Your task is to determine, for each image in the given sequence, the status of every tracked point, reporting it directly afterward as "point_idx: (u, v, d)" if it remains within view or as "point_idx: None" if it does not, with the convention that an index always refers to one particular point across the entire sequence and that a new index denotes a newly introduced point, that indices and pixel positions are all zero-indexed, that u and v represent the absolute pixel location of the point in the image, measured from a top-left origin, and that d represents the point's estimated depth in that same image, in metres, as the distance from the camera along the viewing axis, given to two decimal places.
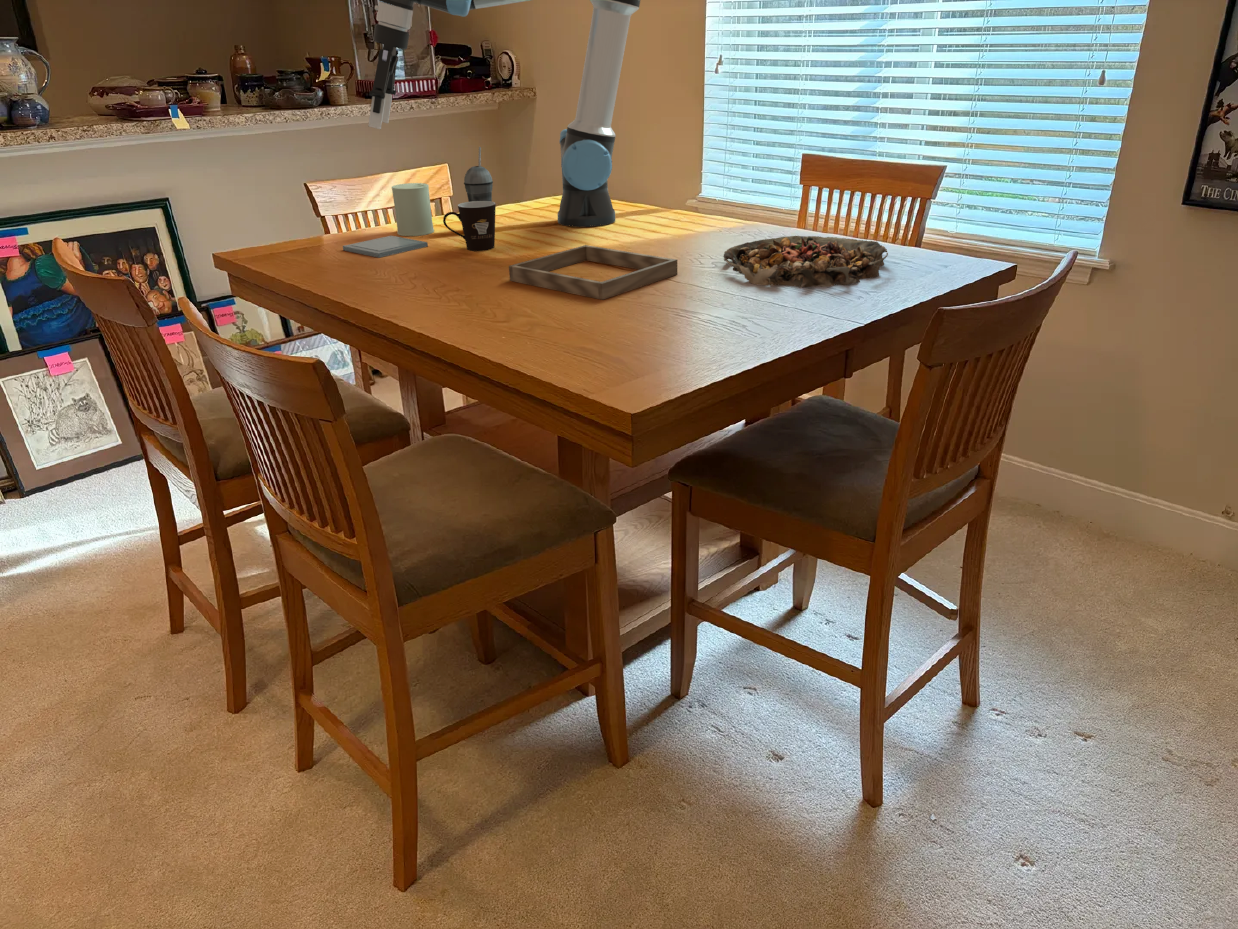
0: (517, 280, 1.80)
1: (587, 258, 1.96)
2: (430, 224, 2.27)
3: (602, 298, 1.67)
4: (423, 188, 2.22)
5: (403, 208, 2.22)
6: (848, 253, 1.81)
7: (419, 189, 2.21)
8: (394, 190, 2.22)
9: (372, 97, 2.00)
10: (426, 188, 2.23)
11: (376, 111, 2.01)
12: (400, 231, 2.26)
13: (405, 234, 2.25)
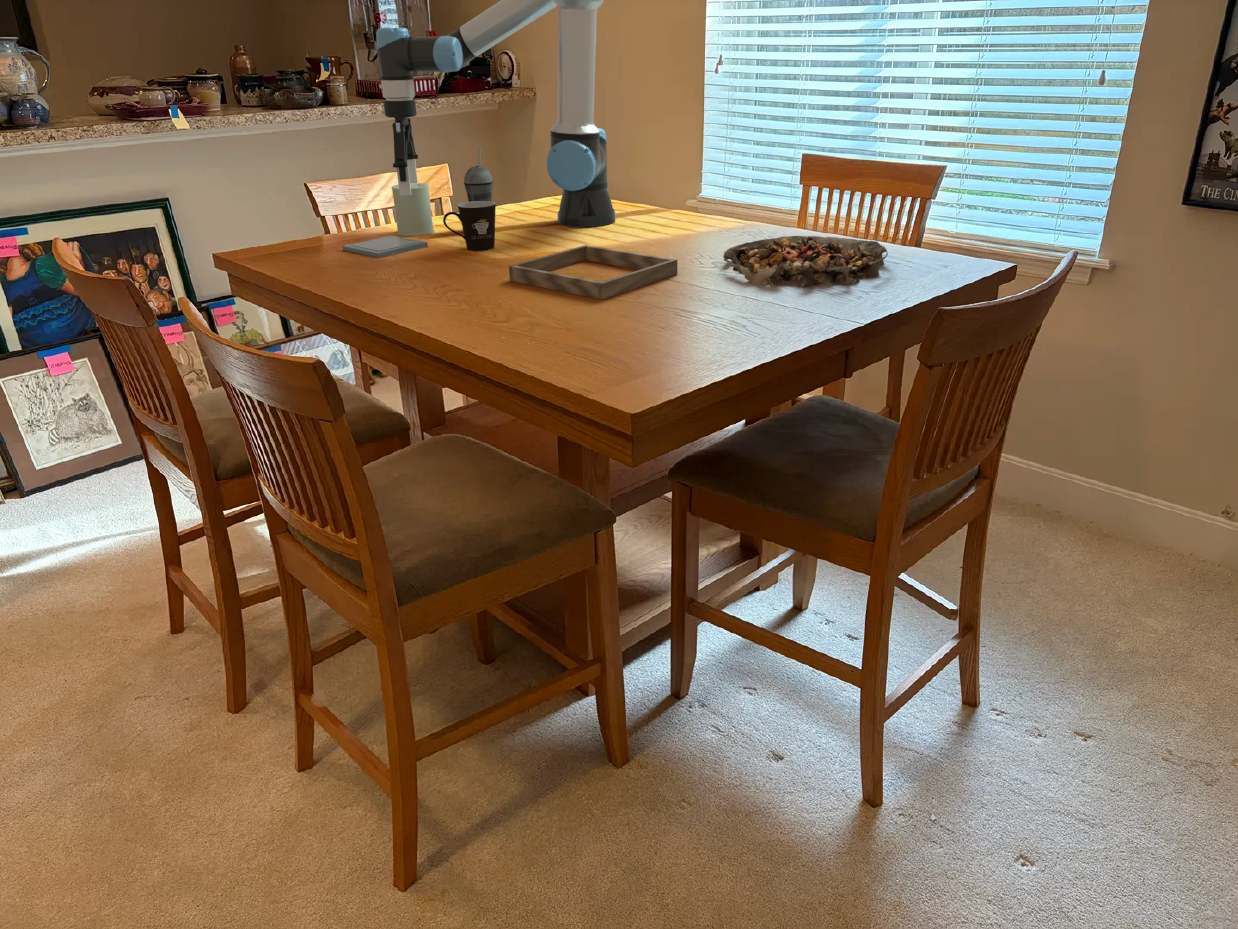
0: (517, 280, 1.80)
1: (587, 258, 1.96)
2: (430, 224, 2.27)
3: (602, 298, 1.67)
4: (423, 188, 2.22)
5: (403, 208, 2.22)
6: (848, 253, 1.81)
7: (419, 189, 2.21)
8: (394, 190, 2.22)
9: None
10: (426, 188, 2.23)
11: (403, 180, 2.16)
12: (400, 231, 2.26)
13: (405, 234, 2.25)
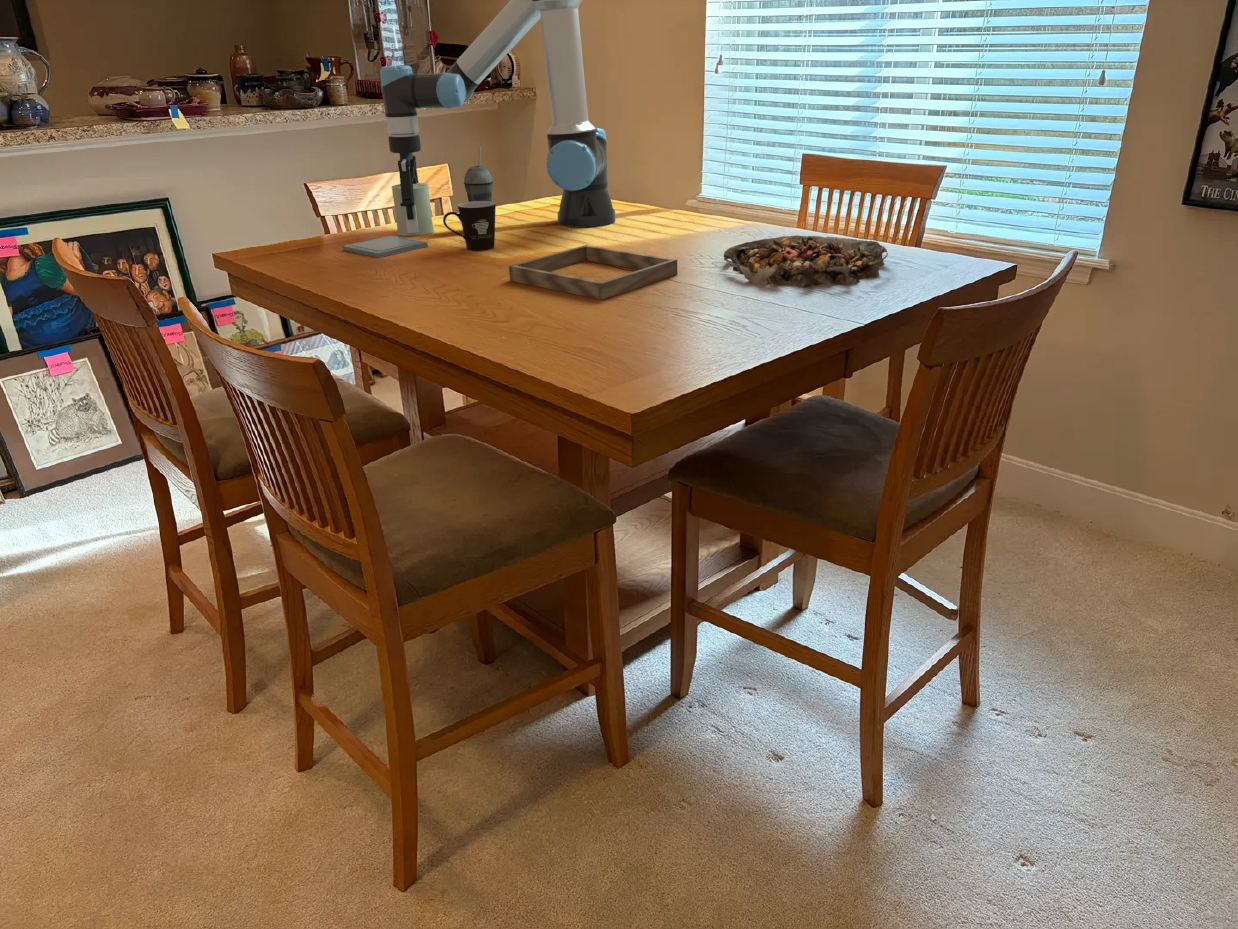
0: (517, 280, 1.80)
1: (587, 258, 1.96)
2: (430, 224, 2.27)
3: (602, 298, 1.67)
4: (423, 188, 2.22)
5: (403, 207, 2.22)
6: (848, 253, 1.81)
7: (419, 189, 2.21)
8: (394, 190, 2.22)
9: (404, 207, 2.21)
10: (426, 188, 2.23)
11: (410, 218, 2.22)
12: (400, 231, 2.26)
13: (405, 234, 2.25)
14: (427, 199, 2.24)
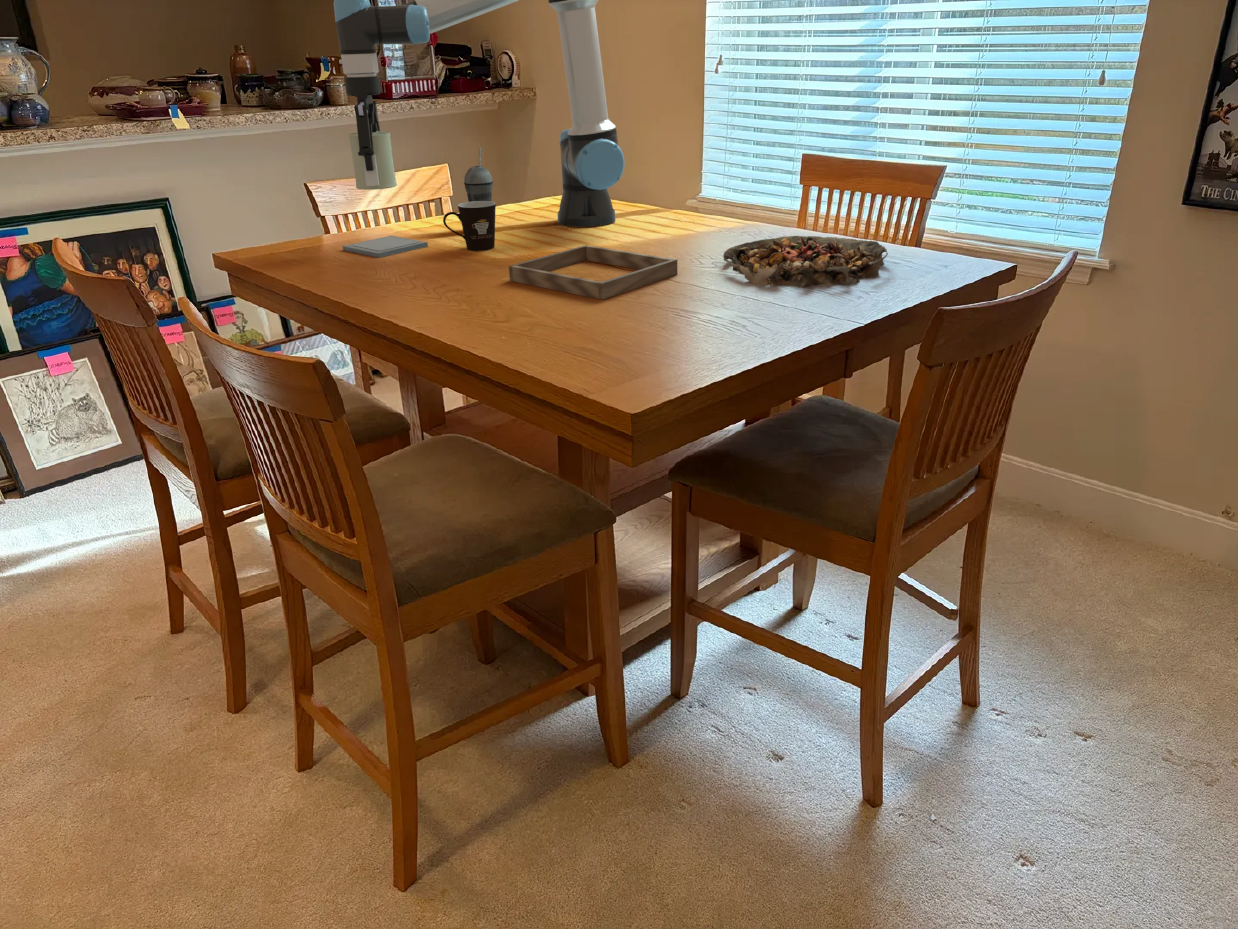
0: (517, 280, 1.80)
1: (587, 258, 1.96)
2: (392, 177, 2.05)
3: (602, 298, 1.67)
4: (383, 135, 2.00)
5: (361, 157, 2.00)
6: (848, 253, 1.81)
7: (378, 136, 1.99)
8: (351, 138, 1.99)
9: (362, 156, 1.99)
10: (387, 136, 2.01)
11: (369, 169, 1.99)
12: (359, 184, 2.03)
13: (364, 187, 2.03)
14: (388, 148, 2.02)
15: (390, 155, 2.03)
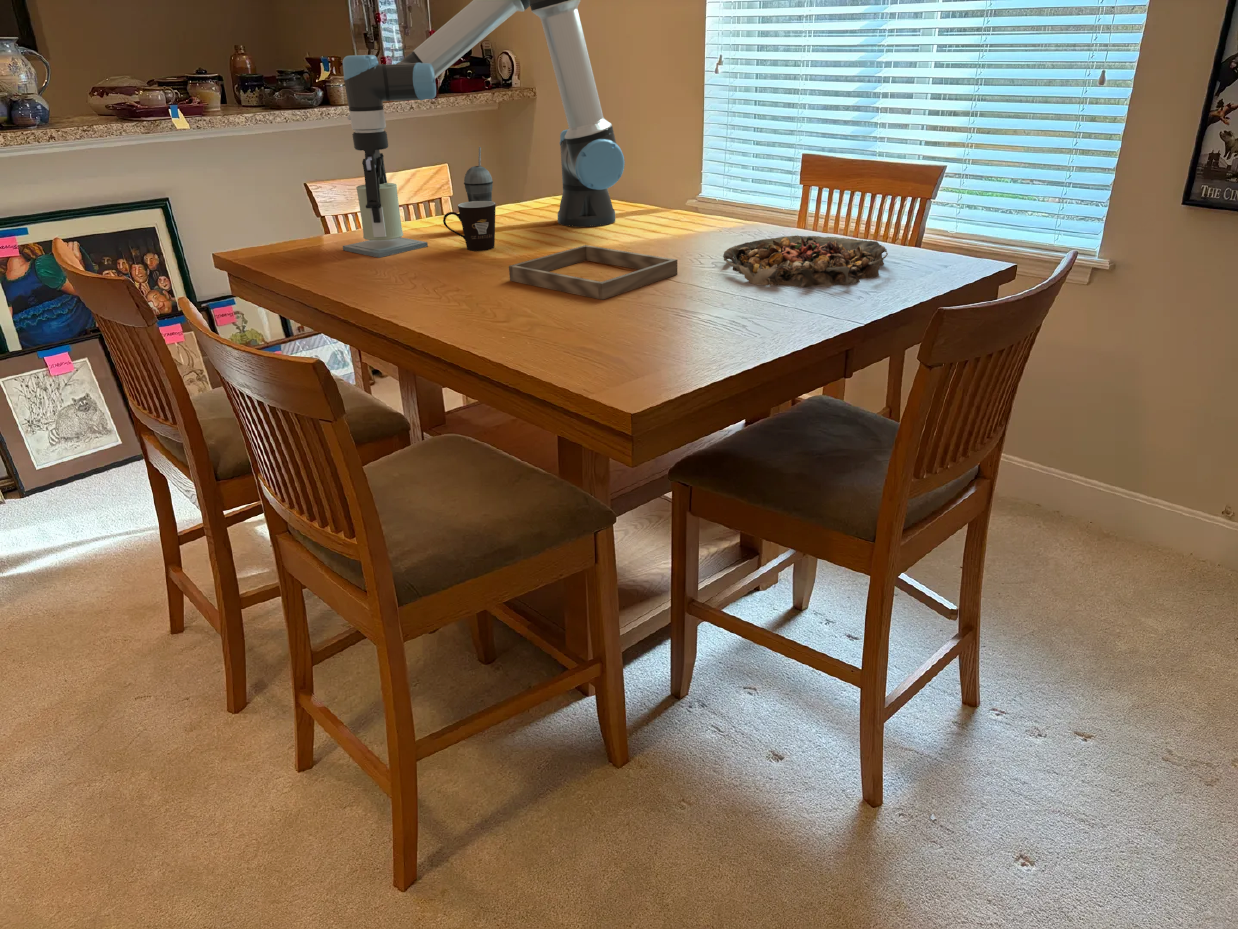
0: (517, 280, 1.80)
1: (587, 258, 1.96)
2: (398, 228, 2.10)
3: (602, 298, 1.67)
4: (390, 188, 2.05)
5: (368, 209, 2.05)
6: (848, 253, 1.81)
7: (385, 189, 2.04)
8: (359, 190, 2.04)
9: (370, 209, 2.04)
10: (394, 188, 2.06)
11: (377, 221, 2.04)
12: (366, 235, 2.08)
13: (371, 238, 2.08)
14: (395, 200, 2.07)
15: (397, 207, 2.08)
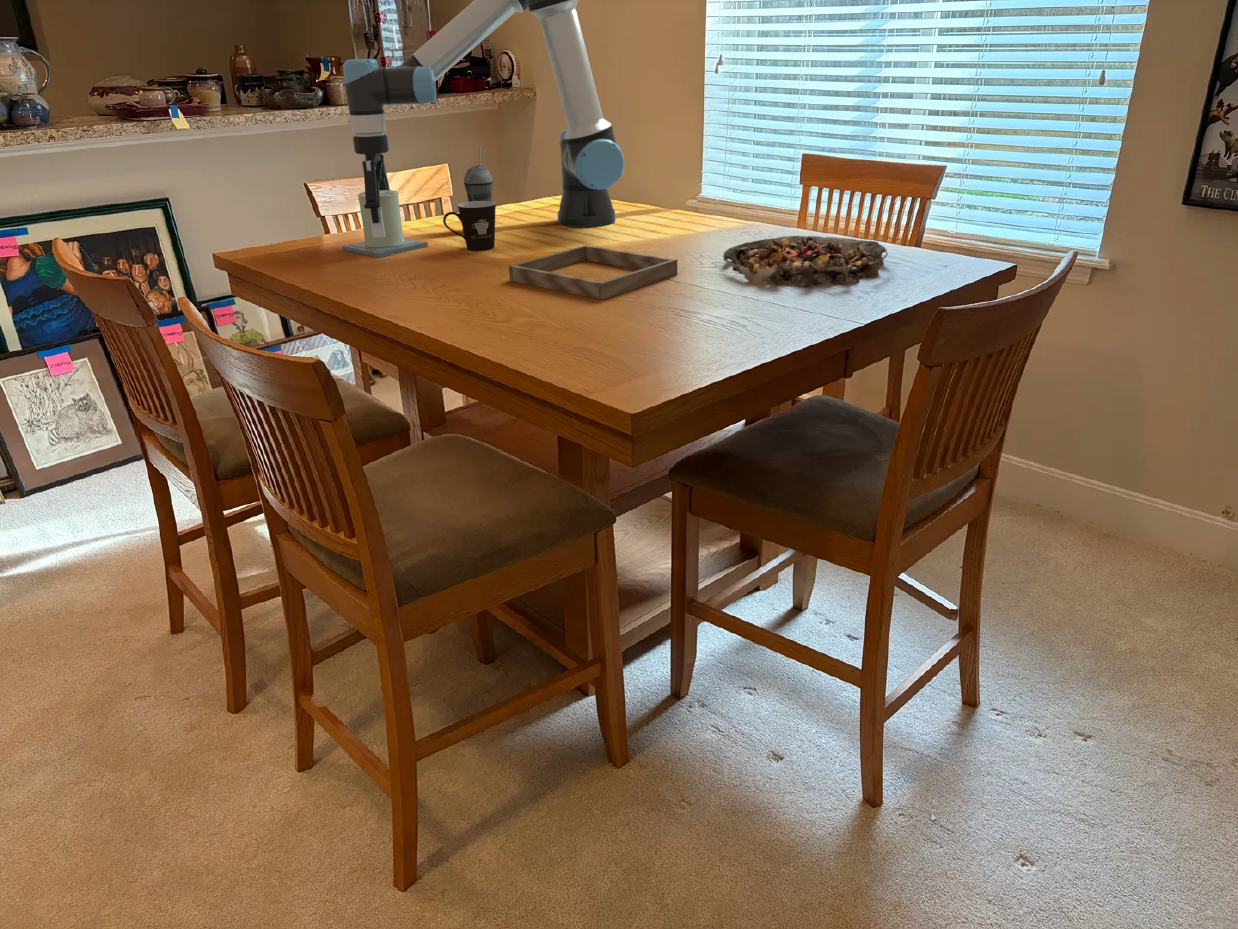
0: (517, 280, 1.80)
1: (587, 258, 1.96)
2: (400, 235, 2.10)
3: (602, 298, 1.67)
4: (392, 196, 2.05)
5: None
6: (848, 253, 1.81)
7: (387, 197, 2.05)
8: (360, 198, 2.05)
9: None
10: (395, 196, 2.07)
11: (376, 221, 2.03)
12: (368, 242, 2.09)
13: (373, 245, 2.09)
14: (396, 208, 2.08)
15: (398, 214, 2.09)
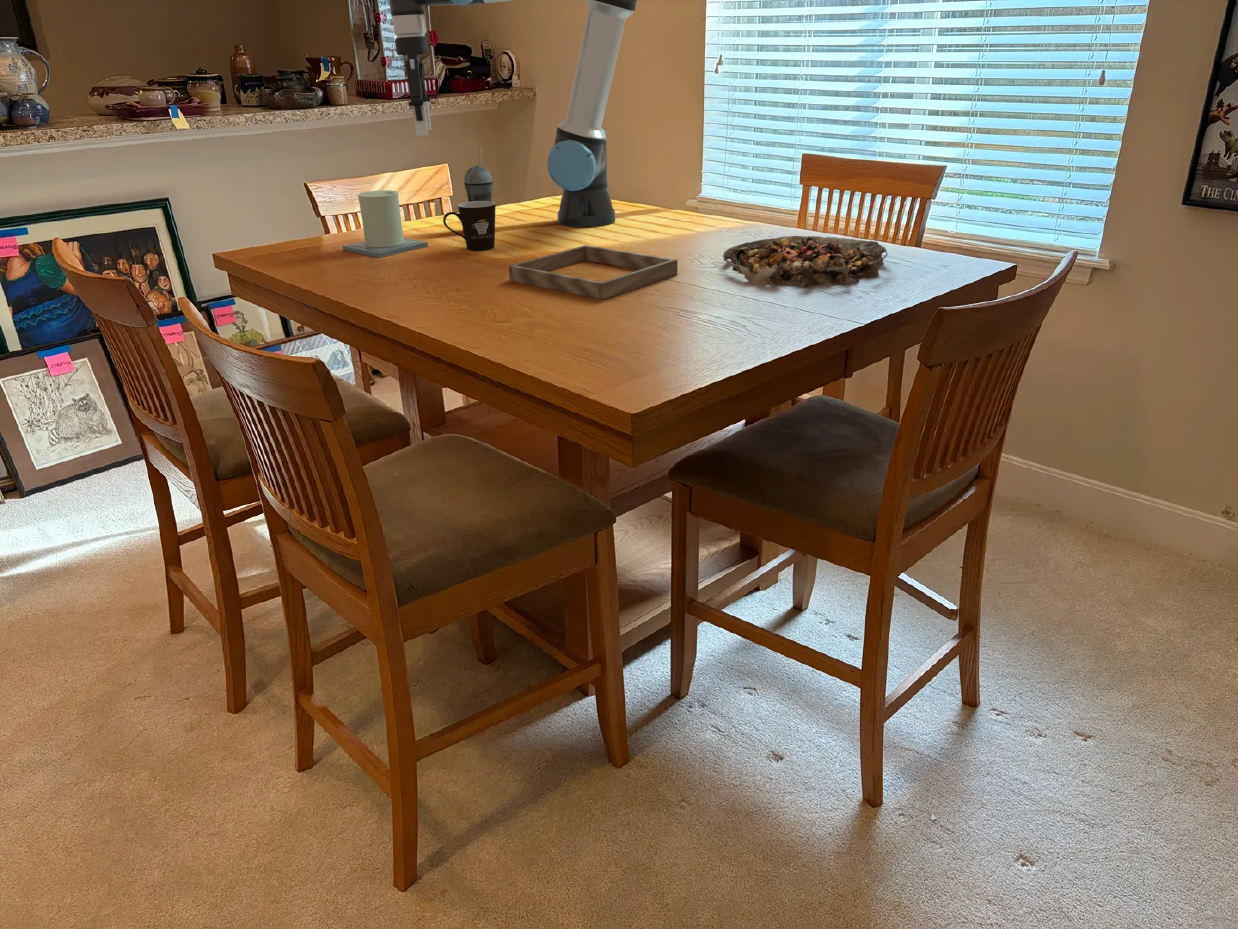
0: (517, 280, 1.80)
1: (587, 258, 1.96)
2: (400, 235, 2.10)
3: (602, 298, 1.67)
4: (392, 196, 2.05)
5: (370, 217, 2.06)
6: (848, 253, 1.81)
7: (387, 197, 2.05)
8: (360, 198, 2.05)
9: (412, 107, 2.09)
10: (395, 196, 2.07)
11: (419, 119, 2.09)
12: (368, 242, 2.09)
13: (373, 245, 2.09)
14: (396, 208, 2.08)
15: (398, 214, 2.09)
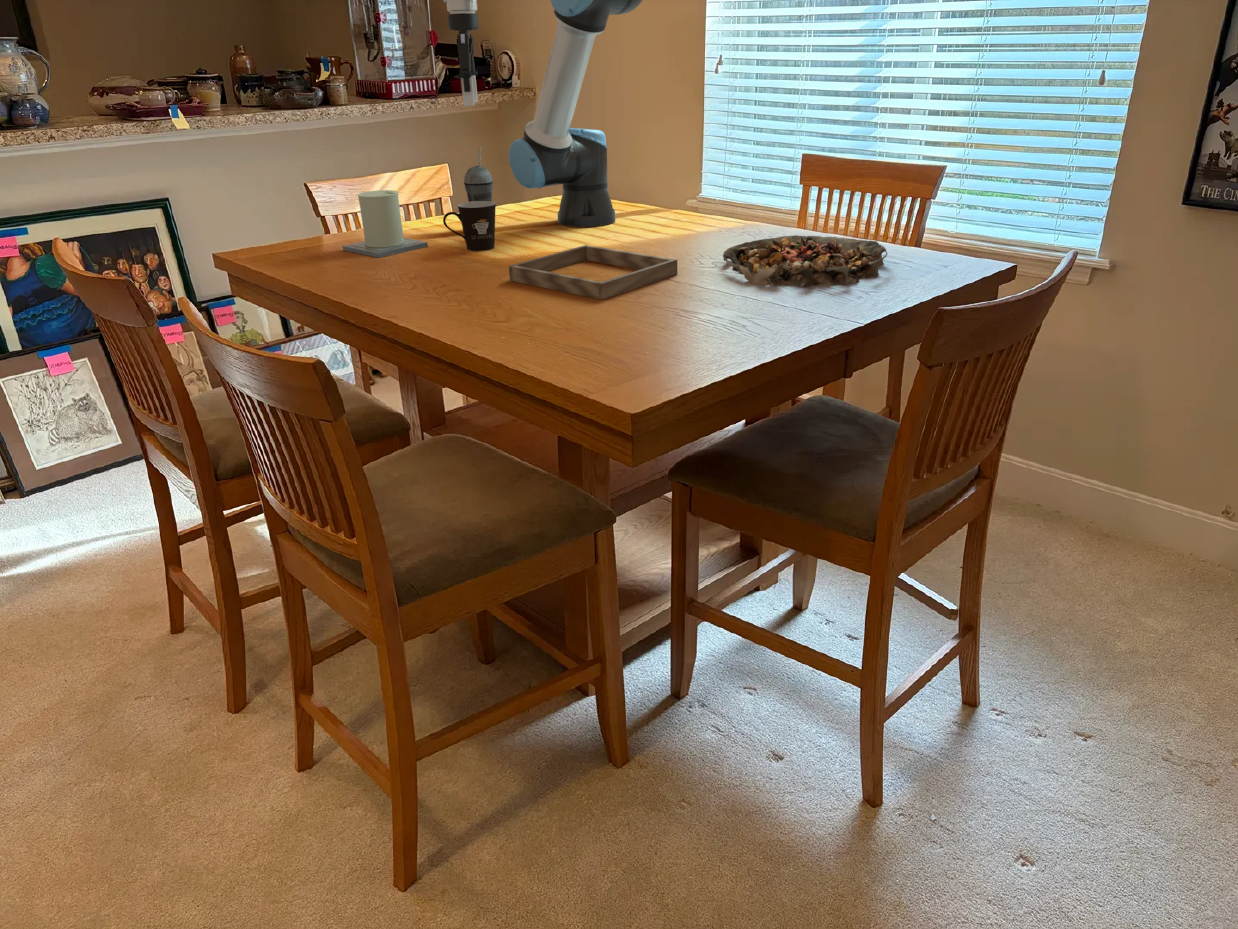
0: (517, 280, 1.80)
1: (587, 258, 1.96)
2: (400, 235, 2.10)
3: (602, 298, 1.67)
4: (392, 196, 2.05)
5: (370, 217, 2.06)
6: (847, 253, 1.81)
7: (387, 197, 2.05)
8: (360, 198, 2.05)
9: (461, 79, 2.25)
10: (395, 196, 2.07)
11: (467, 90, 2.25)
12: (368, 242, 2.09)
13: (373, 245, 2.09)
14: (396, 208, 2.08)
15: (398, 214, 2.09)
